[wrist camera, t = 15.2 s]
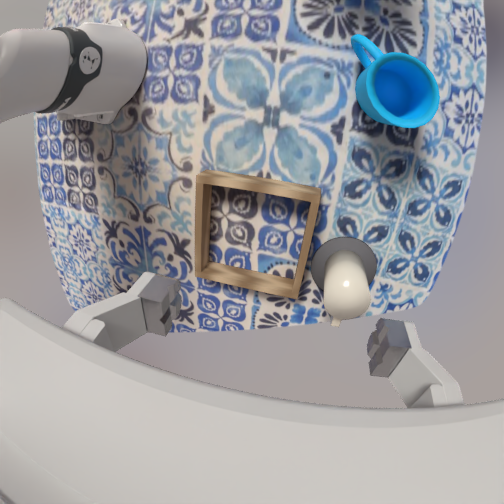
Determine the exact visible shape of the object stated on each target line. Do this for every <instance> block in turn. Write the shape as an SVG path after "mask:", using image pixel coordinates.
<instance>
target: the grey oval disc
mask: <svg viewBox="0 0 504 504" xmlns="http://www.w3.org/2000/svg"><path fill="white" fill-rule="evenodd" d="M340 250H350V251H353V252H355V253H357V254H358V255H359V256H360V257H361V258H362V260H363V263H364V268H365V272H366V277H367V282H368V285H369V284H370V283H371V282H372V280H373V278H374V276H375V273H376V268H377V264H376V259H375V256H374V253H373V251H372V250H371V248H370V247H369V246H368V245H367V244H366V243H364V242H363V241H361V240H359V239H356V238H352V237H338V238H334V239H331V240H329V241H327V242H325V243H324V244H323V245H321V246H320V247H319V248H318V250H317V251H316V252H315V254H314V256H313V259H312V263H311V273H312V277H313V279H314V281H315V283H316V284H317V285H318V287H320V288H321V289H322V290H323V291H324V266H325V262H326V260H327V259H328V257H329V256H330V255H331V254H333V253H335V252H337V251H340Z"/></svg>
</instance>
